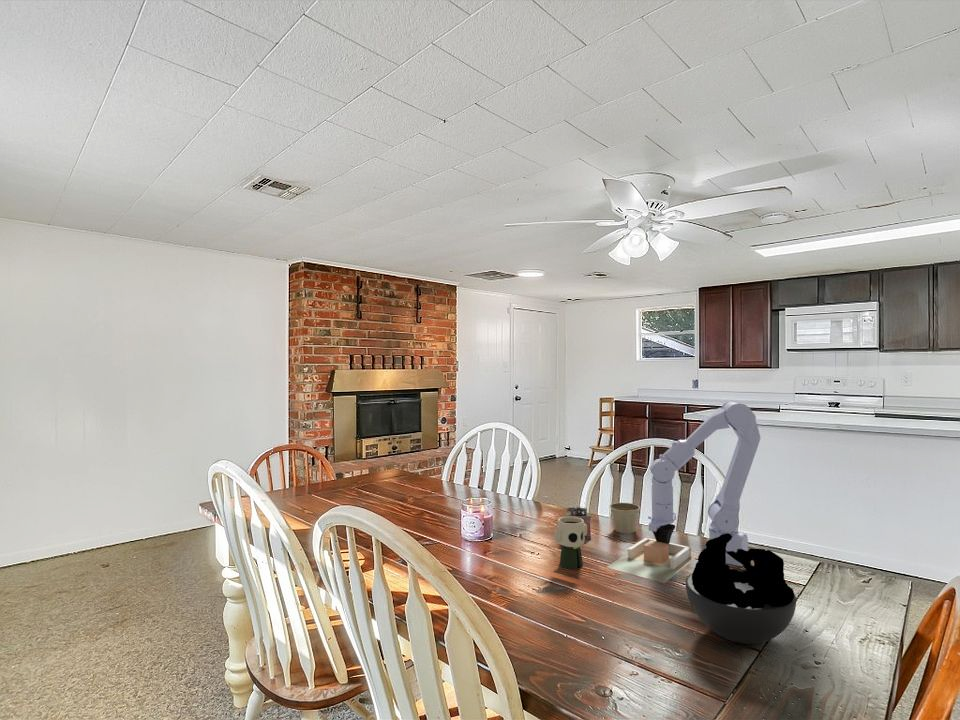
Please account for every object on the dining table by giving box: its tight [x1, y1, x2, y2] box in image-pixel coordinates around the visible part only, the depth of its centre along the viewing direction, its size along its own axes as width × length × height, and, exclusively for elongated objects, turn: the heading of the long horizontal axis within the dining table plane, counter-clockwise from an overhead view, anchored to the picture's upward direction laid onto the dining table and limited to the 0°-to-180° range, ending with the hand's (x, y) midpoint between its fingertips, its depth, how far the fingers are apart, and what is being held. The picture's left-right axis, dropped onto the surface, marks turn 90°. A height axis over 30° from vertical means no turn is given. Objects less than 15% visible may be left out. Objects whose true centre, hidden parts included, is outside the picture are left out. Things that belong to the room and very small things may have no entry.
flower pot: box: [609, 502, 641, 534], centre depth 174 cm, size 9×9×9 cm
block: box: [644, 540, 669, 564], centre depth 149 cm, size 5×5×4 cm
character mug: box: [553, 516, 587, 570], centre depth 146 cm, size 11×7×13 cm, turn 120°
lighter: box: [564, 505, 592, 541], centre depth 169 cm, size 8×3×10 cm, turn 84°
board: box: [605, 551, 697, 584], centre depth 146 cm, size 16×22×1 cm
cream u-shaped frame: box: [627, 537, 692, 569], centre depth 150 cm, size 13×12×2 cm
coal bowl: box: [684, 533, 797, 645], centre depth 108 cm, size 20×20×19 cm
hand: (663, 550), depth 152 cm, fingers closed
